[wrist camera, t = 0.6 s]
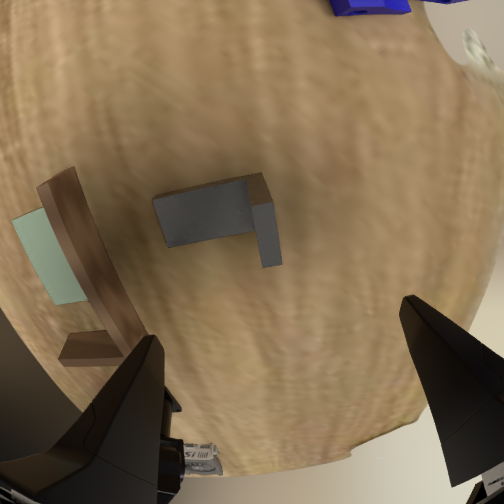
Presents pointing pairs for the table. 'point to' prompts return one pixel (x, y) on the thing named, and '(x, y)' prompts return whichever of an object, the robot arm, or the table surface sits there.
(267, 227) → the angle bracket
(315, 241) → the table surface
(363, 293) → the table surface
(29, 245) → the mat
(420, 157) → the table surface
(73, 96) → the table surface
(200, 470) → the graphics card
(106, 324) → the corner walls
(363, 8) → the blue saddle bracket
